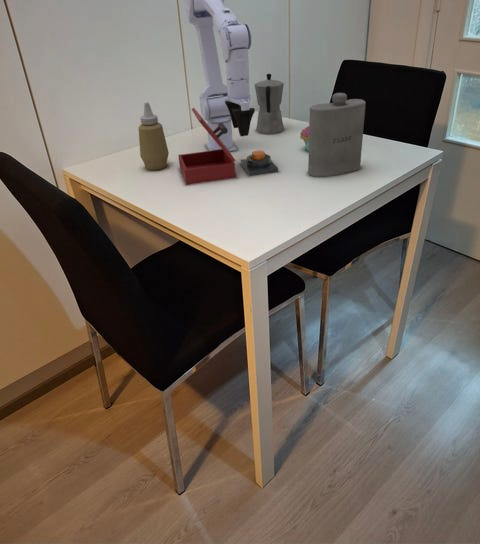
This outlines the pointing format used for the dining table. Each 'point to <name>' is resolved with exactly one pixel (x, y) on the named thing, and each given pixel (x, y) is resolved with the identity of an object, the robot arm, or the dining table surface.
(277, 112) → the coffeepot
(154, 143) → the squeeze bottle
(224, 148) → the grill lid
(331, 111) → the flask
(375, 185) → the dining table surface
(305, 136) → the cupcake
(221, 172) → the maroon rectangular box
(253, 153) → the power button
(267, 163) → the switch box
